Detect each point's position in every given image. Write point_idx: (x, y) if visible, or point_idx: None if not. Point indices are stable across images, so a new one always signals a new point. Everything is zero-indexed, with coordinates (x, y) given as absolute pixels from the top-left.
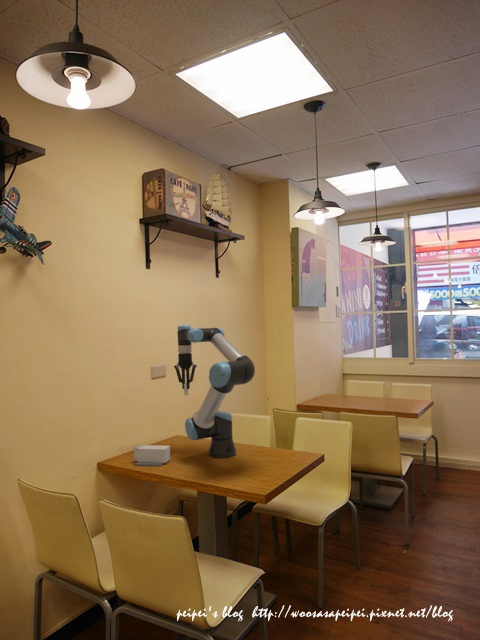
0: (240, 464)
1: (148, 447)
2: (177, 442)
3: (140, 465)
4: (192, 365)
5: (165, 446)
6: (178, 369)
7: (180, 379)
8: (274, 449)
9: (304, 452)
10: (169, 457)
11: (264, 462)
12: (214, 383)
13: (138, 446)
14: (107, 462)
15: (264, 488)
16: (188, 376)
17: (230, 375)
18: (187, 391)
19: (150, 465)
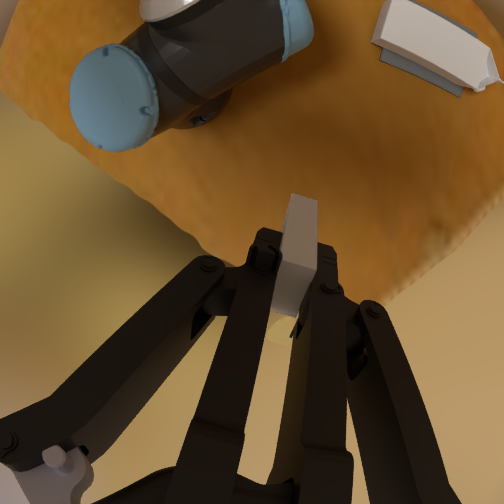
0: None
1: (459, 45)
2: (339, 265)
3: (459, 24)
4: (61, 493)
5: (397, 31)
6: (392, 496)
7: (367, 328)
8: (58, 124)
9: (11, 97)
10: (374, 32)
11: (80, 5)
12: None
13: (491, 82)
14: None
15: None
16: (222, 334)
17: None
18: (282, 230)
19: (429, 8)
